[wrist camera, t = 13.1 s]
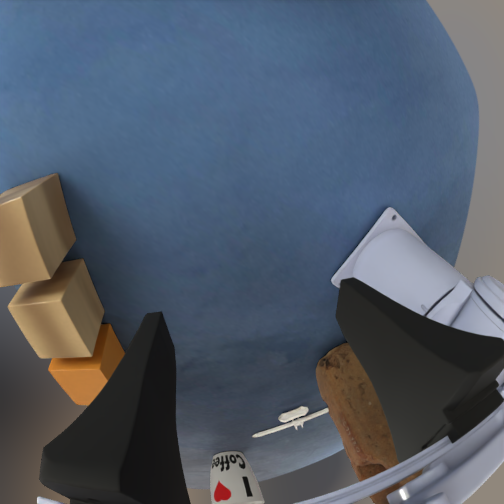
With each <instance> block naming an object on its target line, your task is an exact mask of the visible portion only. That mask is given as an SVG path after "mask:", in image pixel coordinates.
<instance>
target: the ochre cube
mask: <svg viewBox="0 0 504 504" xmlns="http://www.w3.org/2000/svg"><path fill="white" fill-rule="evenodd" d="M124 354H125V352H124V350H123V348H122V346H121V344H120V342H119V340H118V339H117V337H116V335H115V333H114V331H113V328H112V326H111V324H101V325H100V329H99V333H98V336H97V340H96V344H95V348H94V352H93V356H92V357H73V358H52V360H51V363H50V366H49V369H48V370H49V372H50V373H51V374H52V376H53V377H54V378H55V380H56V381H57V382H58V383H59V384H60V386H61V387H62V388H63V389H64V391H65V392H66V393H67V394H68V395H69V396H70V397H71V399H72V400H73V401H74V402H75V403H76V404H77V405H90V403H91V402H92V401H93V400H94V399H95V397H96V396H97V395H98V394H99V392H100V391H101V390H102V388H103V387H104V386H105V384H106V383H107V381H108V380H109V379H110V377H111V376H112V374H113V373H114V371H115V369H116V368H117V366H118V364H119V363H120V361H121V359H122V358H123V356H124Z"/></svg>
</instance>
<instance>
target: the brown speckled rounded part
mask: <svg viewBox="0 0 504 504" xmlns="http://www.w3.org/2000/svg"><path fill="white" fill-rule="evenodd" d="M316 378H317V383H318V387H319V391H320V394H321V396H322V399H323V401H325V402H326V403H327V405H328V409H329V414H330V416H331V418H332V420H333V421H334V423H335V425H336V427H337V429H338V431H339V433H340V436H341V438H342V442H343V445H344V448H345V450H346V453H347V455H348V457H349V459H350V460H351V464H352V467H353V469H354V471H355V473H356V475H357V477H358V479H359V481H360V482H361V481H363V480H366V479H368V478H370V477H373V476H375V475H377V474H379V473H381V472H383V471H386V470H388V469H390V468H392V467H394V466H396V465H398V464H399V462H398V460H397V455H396V451H395V447H394V443H393V439H392V436H391V432H390V429H389V426H388V423H387V420H386V417H385V414H384V411H383V409H382V406H381V404H380V401H379V399H378V396H377V394H376V392H375V389H374V387H373V385H372V383H371V381H370V379H369V377H368V375H367V373H366V372H365V370H364V368H363V367H362V365H361V363H360V362H359V360H358V359H357V357H356V355H355V354H354V352H353V350H352V349H351V347H350V345H349V344H348V343H344V344H342V345H340V346H338V347H336V348H334V349H332V350H330V351H329V352H328V353H327V355H326V356H324V357H323V358H321V359H320V360H319V362H318V364H317V367H316ZM422 471H423V469H422V470H420V471H419V472H417V473H415V474H413V475H411V476H410V477H408V478H406V479H404V480H402V481H400V482H399V483H397V484H395V485H393V486H391V487H389V488H387V489H384V490H382V491H380V492H378V493H376V494H374V495H371V496H369V497H370V498H371V499H372V501H373V503H375V504H389V501H388V499H387V495H388V494H390V493H392V492H394V491H396V490H397V489H399V488H401V487H402V486H404V485H405V484H406V483H408V482H410V481H412V480H413V479H415V478H417V477H418V476H420V475H422Z"/></svg>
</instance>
